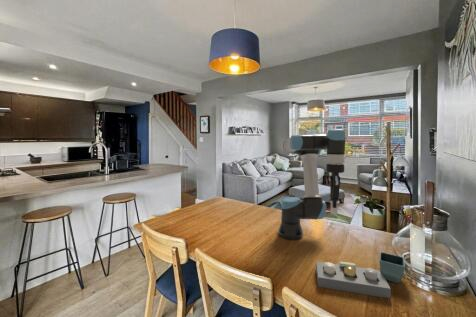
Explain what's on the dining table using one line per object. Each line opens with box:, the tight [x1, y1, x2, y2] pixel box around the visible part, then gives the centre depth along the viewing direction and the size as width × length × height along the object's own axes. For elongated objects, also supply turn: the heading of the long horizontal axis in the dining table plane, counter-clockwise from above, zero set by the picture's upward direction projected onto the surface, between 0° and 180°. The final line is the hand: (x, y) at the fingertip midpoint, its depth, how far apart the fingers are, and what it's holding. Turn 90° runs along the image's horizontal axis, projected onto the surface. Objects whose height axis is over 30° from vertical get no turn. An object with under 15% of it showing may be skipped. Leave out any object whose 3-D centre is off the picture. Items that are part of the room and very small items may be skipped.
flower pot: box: [379, 251, 406, 284], centre depth 94 cm, size 9×9×9 cm
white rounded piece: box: [324, 261, 335, 275], centre depth 94 cm, size 4×4×5 cm
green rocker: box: [339, 261, 357, 268], centre depth 96 cm, size 6×3×2 cm, turn 74°
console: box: [315, 261, 392, 299], centre depth 92 cm, size 26×12×4 cm, turn 74°
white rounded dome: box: [365, 267, 378, 281], centre depth 89 cm, size 4×4×5 cm
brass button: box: [344, 265, 356, 278], centre depth 91 cm, size 4×4×5 cm
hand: (333, 213), depth 100 cm, fingers closed
